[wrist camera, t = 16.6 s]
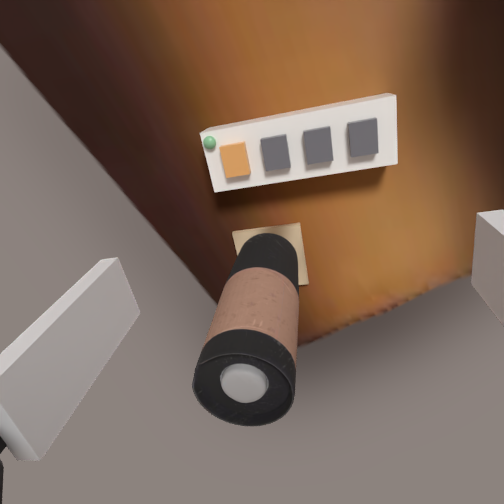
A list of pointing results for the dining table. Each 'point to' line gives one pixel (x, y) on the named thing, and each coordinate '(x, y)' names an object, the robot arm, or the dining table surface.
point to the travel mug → (253, 337)
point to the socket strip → (303, 143)
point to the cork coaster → (287, 231)
